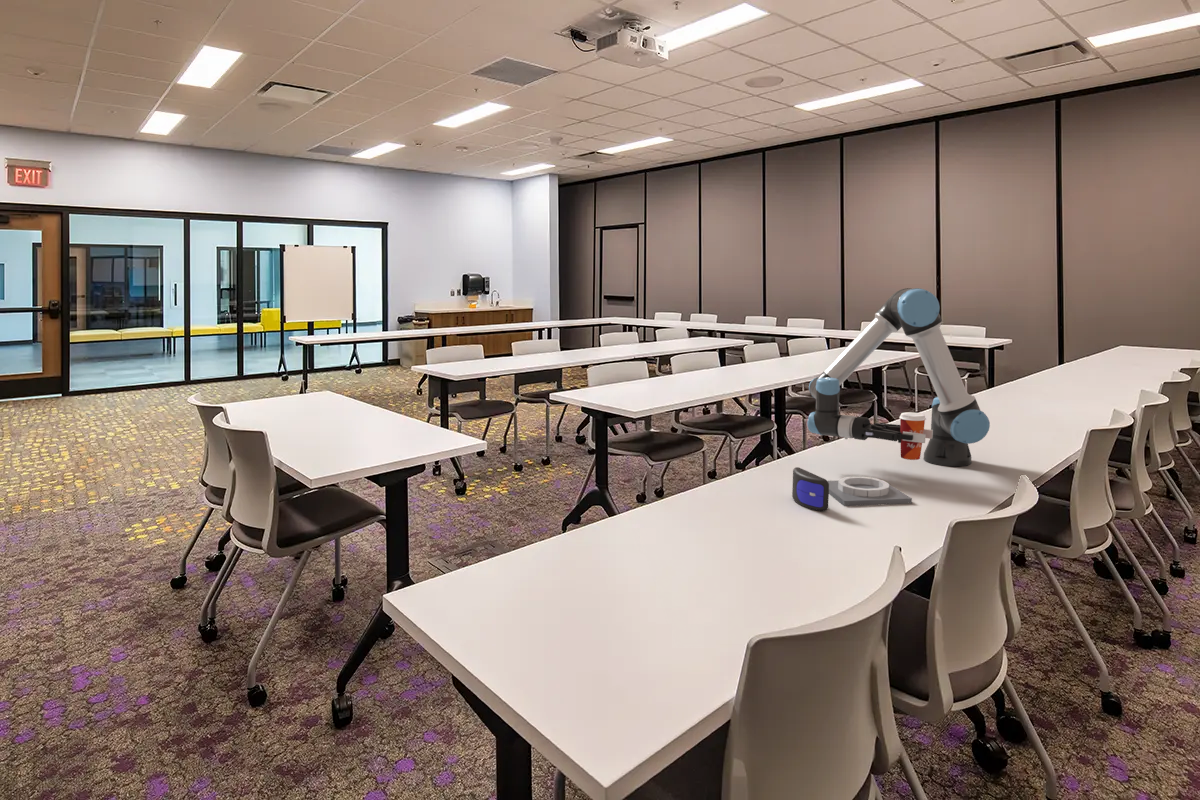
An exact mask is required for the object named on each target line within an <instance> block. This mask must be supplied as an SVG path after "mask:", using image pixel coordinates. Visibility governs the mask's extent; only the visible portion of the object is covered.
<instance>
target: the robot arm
mask: <svg viewBox="0 0 1200 800" xmlns="http://www.w3.org/2000/svg"><path fill="white" fill-rule="evenodd" d="M940 309H941V308H940V302H939V300H938V298H937V297H936V295H934V293H932V292H931V291H929V290H926V289H924V288H911V287H910V288H909V287H908V288H906V287H905V288H901V289H899V290H898V291H895V292H894V293H893V294H892V295H891V296H890V297H888V299H887V300H886V301H885V302H884V303H883V305H882V306H881V307H880V308H879V309H878V310H877V311H875V313H874V319H873V320H871V321H870V323H869V324H868V325H867V326H865V328H864V329H863V330H862V331H860V333H858V335H857V336H856V337H855V338H854V339H853V340H852V341H851V342H850V343H849V344H848V346H846V348H844V350H842V352H840V354H838V356H837V357H835V359H834V360H833V361H832V362H831V363H830V364H828V366H827V367H826V368H825V370H824V371H822V372H821V373H820V375H818V376H816V377H815V378H813V379H811V380H810V382H809V383H808V384H809V385H808V391H809V394H810V395H811V397H812V398H813V399H815V411H812V412H810V413H809V415H808V418H807V419H808V420H807V429H808V431H809V432H810V433H812V434H817V435H820V436H829V437H830V436H831V437H838V438H844V439H845V440H848V439H854V440H859V441H866V440H867V439H868V438H869V439H878V440H885V441H890V442H891V441H892V442H897V443H898V444H901V441H902V440H903V441H911V442H918V443H922V444H926V439H929V440H928V442H927V445H926V446H925V449H924V452H923V460H924V461H925V462H927V463H930V464H934V465H936V466H937V465H938V466H946V467H964V466H970V465H971V464H972V458H973V457H972V454H971V450H970V447H969V444H974V443H978V442H980V441H982V440H983V439H984V438H985V437H986V436H987V434H988V432H989V431H990V428H991V425H990V419H989V417H988V416H987V414H986V413H985V412H984V411H983V410H981V408H980V406H979V404H978V401H977V399H976V397H975V395H972V394H969V393H968V391H967V389H966V386H965V385H964V382H963V380H962V377H961V375H960V372H959V370H958V368H957V365H956V364H955V361H954V359H953V356H952V354H951V351H950V349H949V347H948V344H947V342H946V340H945V338H944V335H943V334H942V330H941V329H940V328H941V325H942V323H943V320H942V317H941V315H940ZM901 328H902V331H903V332H904V335H905V337H907V338H911V339H912V341H913V343H914V345H915V347H916V350H917V352H918V354H919V355H918V356H919V357H920V359H921V361H922V363H923V366H924V368H925V370H926V373H927V375H928V378H929V379H930V382H931V384H932V386H933V389H934V391H935V394H936V395H937V396H936V397H934V398H933V400H932V404H931V408H932V409H931V418H930V419H931V421H930V422H931V423H930V429H927V428H924V432H923V434H920V433H912V432H903V434H902V432H900V424H894V423H893V424H892V423H886V422H885V423H884V422H875V423H873V424H872V423H871V421H870V419H869V418H868V417H866V416H865V417H864V416H855V415H849V414H848V415H847V414H839V412H840V411H839V410H840V409H839V407H840V390H841V387H840V386H841V385H843V383H844V382H845V381H846V380H847V379H848V378H849V377H850V376H851V375H852V374H853V373H854V372H855V371H856V370H857V369H858V367H859V366H861V365H862V364H863V363H864V362H865V361H866V360H867V359H868V358H869V357H870V355H871V354H873V353H874V351H875V350H876V349H878V347H879V346H881V344H882V343H884V341H886V339H887V338H888V337H889V336H890V335H891V334H892V333H898V331H899V330H900V329H901Z"/></svg>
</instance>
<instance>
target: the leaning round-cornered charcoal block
mask: <svg viewBox="0 0 1200 800" xmlns="http://www.w3.org/2000/svg"><path fill="white" fill-rule="evenodd" d="M828 481H829V480H827V479H826V478H823V477H821V476H820V475H816V474H815V473H812V472H810V471H808V470H806V469H803V468H801V467H794V468H793V469H792V492H791V493H792V495H791V496H792V499H793V501H794V502H796V504H798V505H800V506H802V507H804V508H807V509H809V510H814V511H817V512H826V511H827V510H828V509H829V498H830V497H829V495H830V494H829V483H828Z"/></svg>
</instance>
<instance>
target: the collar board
mask: <svg viewBox="0 0 1200 800" xmlns="http://www.w3.org/2000/svg"><path fill="white" fill-rule="evenodd" d="M827 481H828V483H829V495H830V496H831V497H832V498H833V499H835V500H836V501H837V502H839V503H840V504H841V505H842V506H843V507H853V506H856V505H858V506H879V505H878V504H880V505H881V504H884V505H905V504H904V503H910V504H912V503H913V498H912V497H911V496H909V495H907V494H905V493H904V492H902V491H901V490H899V489H897V488H896V487H894V486H893V485H891V484H890V483H888V482H886V481H885V480H883V479H881V478H876V477H870V476H863V475H862V476H844V477H842V478H839V479H838V480H827Z"/></svg>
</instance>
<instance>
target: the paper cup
mask: <svg viewBox="0 0 1200 800" xmlns="http://www.w3.org/2000/svg"><path fill="white" fill-rule="evenodd" d="M898 418H899V420H900V424H899V425H900V432H902V434H903V432H912V433H920V434H923V432H924V429H925V423H926V420H927V418H926V415H925V414H924V413H920V412H911V411H909V412H901V414H900V415H899V417H898ZM922 445H923V443H918V442H911V441H903V440H902V441H901V443H900V457H901V459H904V460H908V461H910V460H911V461H917V460H920V459H921V454H922Z"/></svg>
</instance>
